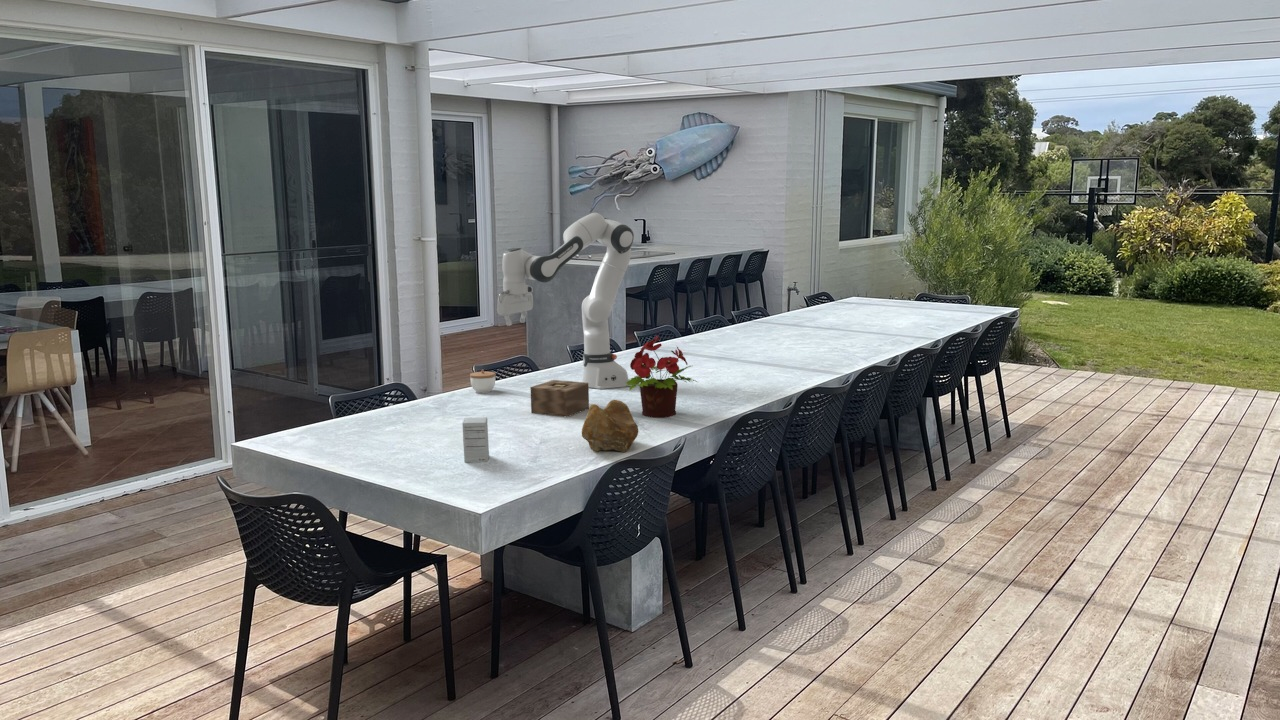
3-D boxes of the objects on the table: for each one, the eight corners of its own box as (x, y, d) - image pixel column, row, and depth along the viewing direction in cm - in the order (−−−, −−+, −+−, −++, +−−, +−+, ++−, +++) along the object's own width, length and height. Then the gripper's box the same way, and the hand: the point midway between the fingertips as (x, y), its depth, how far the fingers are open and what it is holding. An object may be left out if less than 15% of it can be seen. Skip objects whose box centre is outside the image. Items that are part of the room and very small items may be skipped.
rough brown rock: (619, 462, 295) (623, 415, 293) (573, 452, 302) (576, 406, 300) (652, 447, 316) (655, 403, 313) (608, 438, 323) (611, 395, 320)
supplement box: (465, 456, 302) (464, 417, 300) (489, 455, 303) (487, 416, 300) (463, 462, 295) (461, 422, 293) (487, 461, 295) (486, 422, 293)
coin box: (531, 413, 362) (530, 387, 360) (553, 404, 376) (553, 379, 374) (567, 416, 355) (566, 390, 353) (589, 408, 369) (588, 382, 367)
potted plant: (650, 404, 374) (649, 328, 369) (709, 412, 359) (708, 333, 354) (604, 418, 351) (602, 338, 346) (665, 428, 335) (664, 343, 330)
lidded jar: (499, 389, 409) (498, 367, 407) (492, 394, 399) (491, 372, 397) (474, 389, 410) (473, 367, 409) (467, 394, 400) (466, 372, 398)
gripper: (505, 292, 368) (507, 327, 370) (535, 287, 386) (536, 321, 388) (492, 291, 370) (494, 326, 373) (522, 286, 388) (523, 320, 391)
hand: (515, 324), depth 380 cm, fingers open, 8 cm apart
